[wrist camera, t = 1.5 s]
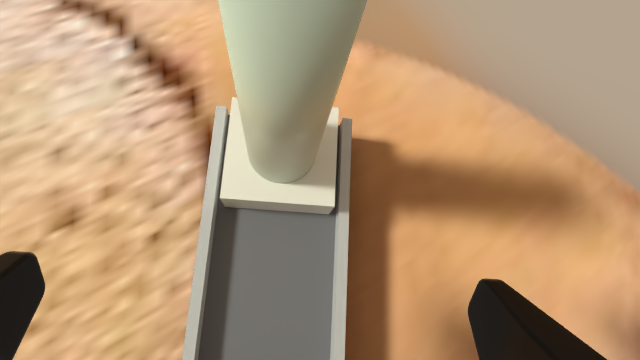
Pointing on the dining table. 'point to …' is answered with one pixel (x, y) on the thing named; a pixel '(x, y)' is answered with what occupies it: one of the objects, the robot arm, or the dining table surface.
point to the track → (269, 272)
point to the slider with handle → (285, 101)
